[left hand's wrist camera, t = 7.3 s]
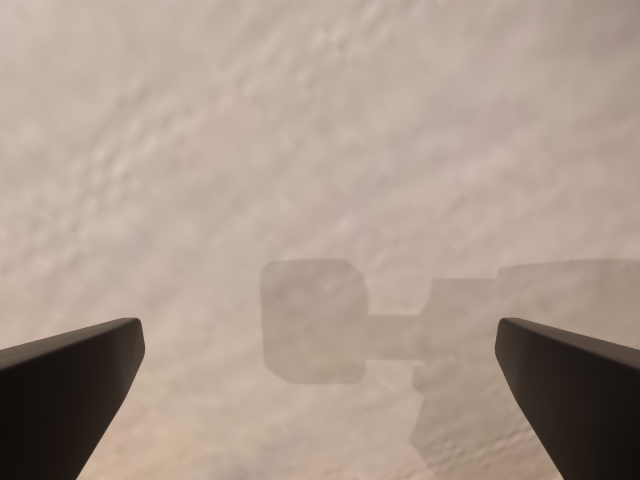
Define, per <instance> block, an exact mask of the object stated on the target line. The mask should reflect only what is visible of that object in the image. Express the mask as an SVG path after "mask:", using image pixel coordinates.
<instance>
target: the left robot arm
mask: <svg viewBox="0 0 640 480" xmlns="http://www.w3.org/2000/svg"><path fill="white" fill-rule="evenodd" d="M144 354H145V343H144V337H143V331H142V324H141V321H140V320H139V319H138V318H121V319H117V320H113V321H109V322H105V323H101V324H98V325H94V326H90V327H86V328H82V329H79V330H75V331H71V332H67V333H63V334H60V335H56V336H52V337H48V338H44V339H41V340H37V341H33V342H29V343H25V344H22V345H18V346H14V347H10V348H6V349H2V350H0V480H76V479H77V477H78V476H79V474H80V472H81V471H82V469H83V467H84V466H85V464H86V462H87V461H88V459H89V458H90V456H91V454H92V453H93V451H94V449H95V448H96V446H97V444H98V443H99V441H100V440H101V438H102V436H103V435H104V433H105V431H106V430H107V428H108V426H109V425H110V423H111V421H112V420H113V418H114V417H115V415H116V413H117V412H118V410H119V408H120V407H121V405H122V403H123V401H124V400H125V398H126V396H127V394H128V391H129V389H130V387H131V385H132V382H133V380H134V378H135V376H136V374H137V371H138V369H139V367H140V365H141V362H142V360H143V358H144ZM495 354H496V358H497V360H498V362H499V365H500V367H501V369H502V371H503V374H504V376H505V378H506V380H507V382H508V385H509V387H510V389H511V391H512V394H513V396H514V398H515V400H516V401H517V403H518V405H519V407H520V408H521V410H522V412H523V413H524V415H525V417H526V418H527V420H528V421H529V423H530V425H531V426H532V428H533V430H534V431H535V433H536V435H537V436H538V438H539V439H540V441H541V443H542V444H543V446H544V448H545V449H546V451H547V453H548V454H549V456H550V458H551V459H552V461H553V462H554V464H555V466H556V467H557V469H558V471H559V472H560V474H561V476H562V477H563V479H564V480H640V350H638V349H634V348H630V347H626V346H622V345H619V344H615V343H611V342H607V341H603V340H599V339H596V338H592V337H588V336H584V335H580V334H577V333H573V332H569V331H565V330H561V329H558V328H554V327H550V326H546V325H542V324H539V323H535V322H531V321H527V320H523V319H519V318H502V319H501V320H500V321H499V324H498V331H497V337H496V343H495Z"/></svg>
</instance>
